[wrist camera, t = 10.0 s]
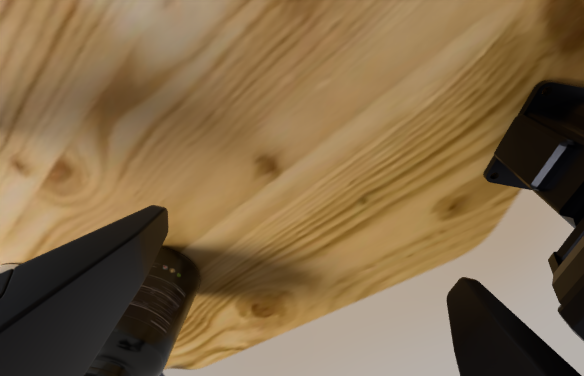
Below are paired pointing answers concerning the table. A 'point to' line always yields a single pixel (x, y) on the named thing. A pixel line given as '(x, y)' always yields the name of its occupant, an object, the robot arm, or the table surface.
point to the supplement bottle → (150, 320)
